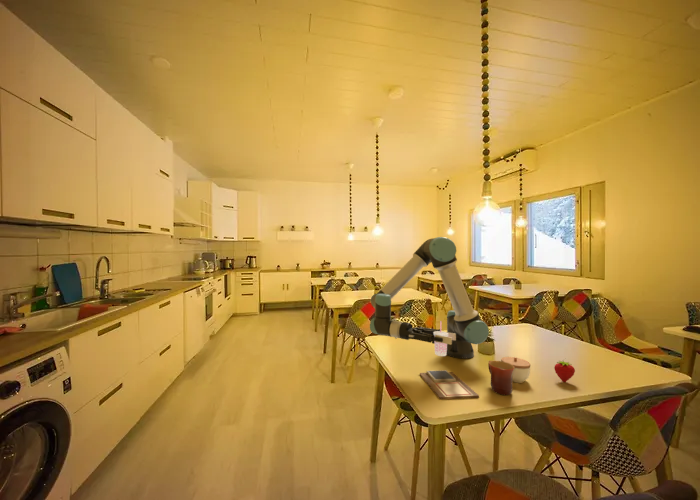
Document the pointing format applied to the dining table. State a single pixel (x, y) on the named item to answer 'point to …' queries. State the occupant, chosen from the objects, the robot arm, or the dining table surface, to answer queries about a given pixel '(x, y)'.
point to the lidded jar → (518, 368)
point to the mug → (501, 377)
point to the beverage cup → (440, 347)
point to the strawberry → (564, 370)
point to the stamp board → (448, 385)
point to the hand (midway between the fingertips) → (453, 339)
